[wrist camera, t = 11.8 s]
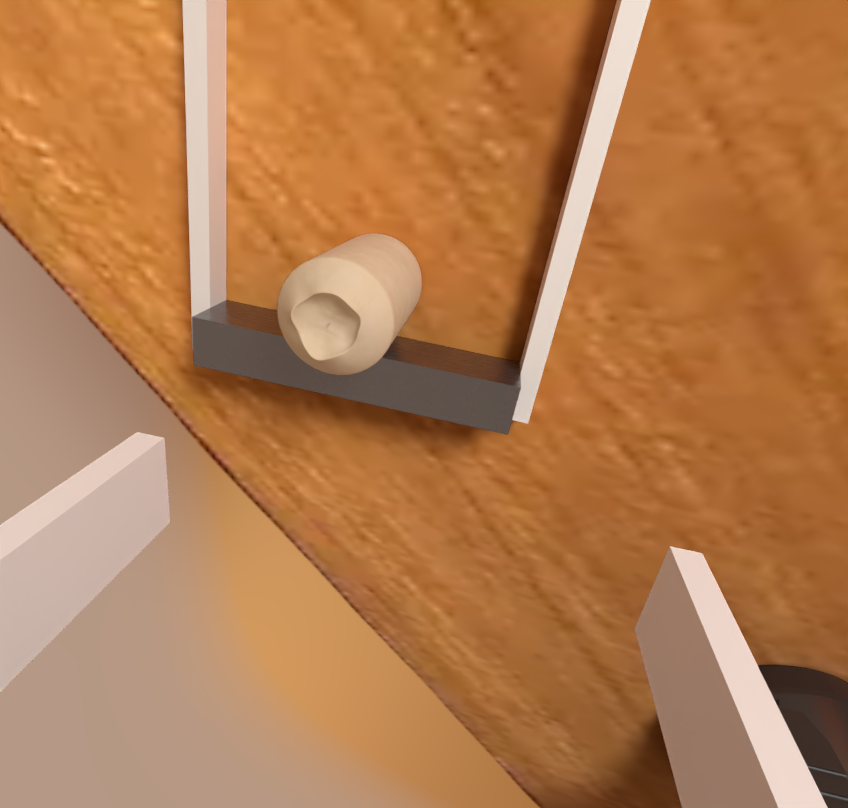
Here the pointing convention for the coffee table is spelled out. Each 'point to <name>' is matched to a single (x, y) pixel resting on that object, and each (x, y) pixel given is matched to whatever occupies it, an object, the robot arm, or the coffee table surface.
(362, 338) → the candle
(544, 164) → the coffee table surface
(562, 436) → the coffee table surface
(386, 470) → the coffee table surface
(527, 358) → the guide track
